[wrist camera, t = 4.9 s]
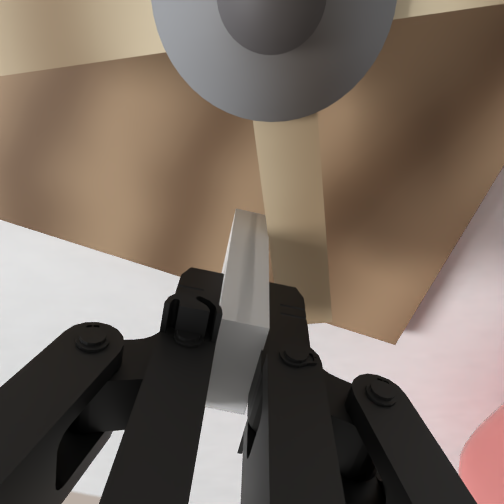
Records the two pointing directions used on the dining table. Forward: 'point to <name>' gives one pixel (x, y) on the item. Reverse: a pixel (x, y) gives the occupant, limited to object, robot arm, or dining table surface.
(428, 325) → the dining table surface
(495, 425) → the cell model
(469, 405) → the dining table surface
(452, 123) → the stand
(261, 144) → the capstan
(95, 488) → the dining table surface
